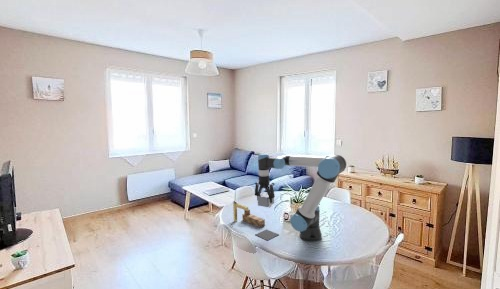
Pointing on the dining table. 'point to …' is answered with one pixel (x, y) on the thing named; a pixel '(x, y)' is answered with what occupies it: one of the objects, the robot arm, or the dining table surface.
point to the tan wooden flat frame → (236, 209)
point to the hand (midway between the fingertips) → (264, 206)
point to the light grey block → (264, 200)
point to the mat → (267, 234)
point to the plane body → (253, 219)
